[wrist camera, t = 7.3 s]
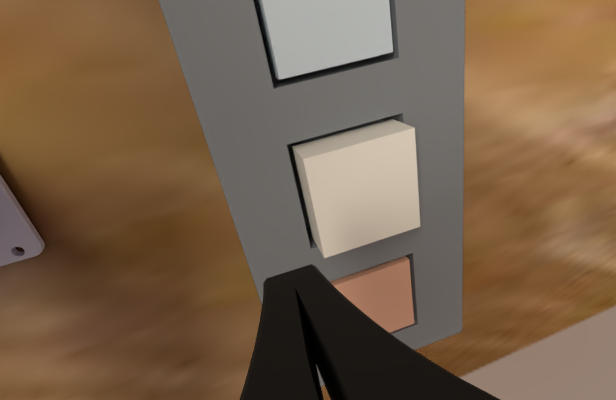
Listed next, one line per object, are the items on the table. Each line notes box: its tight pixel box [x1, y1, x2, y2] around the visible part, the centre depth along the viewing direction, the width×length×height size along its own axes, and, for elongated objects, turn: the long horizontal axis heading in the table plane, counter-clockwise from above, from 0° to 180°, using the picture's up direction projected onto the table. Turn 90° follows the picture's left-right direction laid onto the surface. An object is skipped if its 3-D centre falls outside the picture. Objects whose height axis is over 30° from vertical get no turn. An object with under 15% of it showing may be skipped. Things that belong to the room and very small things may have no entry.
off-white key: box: [292, 119, 420, 258], centre depth 16 cm, size 5×5×2 cm
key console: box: [159, 0, 465, 386], centre depth 18 cm, size 12×26×3 cm, turn 11°
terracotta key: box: [330, 256, 414, 333], centre depth 21 cm, size 5×5×2 cm
